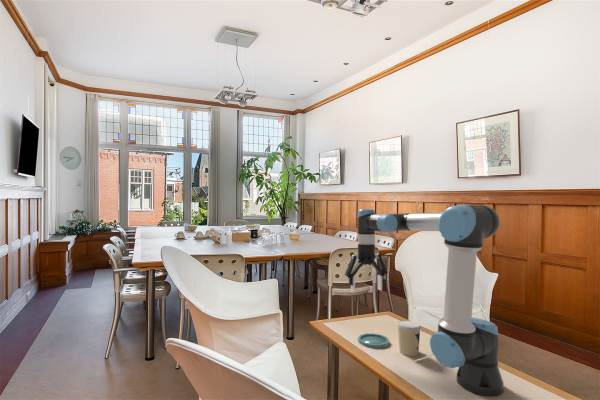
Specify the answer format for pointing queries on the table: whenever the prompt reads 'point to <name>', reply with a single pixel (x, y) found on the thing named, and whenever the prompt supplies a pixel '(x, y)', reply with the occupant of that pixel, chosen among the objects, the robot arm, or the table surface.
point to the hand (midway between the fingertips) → (366, 291)
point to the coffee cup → (409, 337)
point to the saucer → (373, 340)
